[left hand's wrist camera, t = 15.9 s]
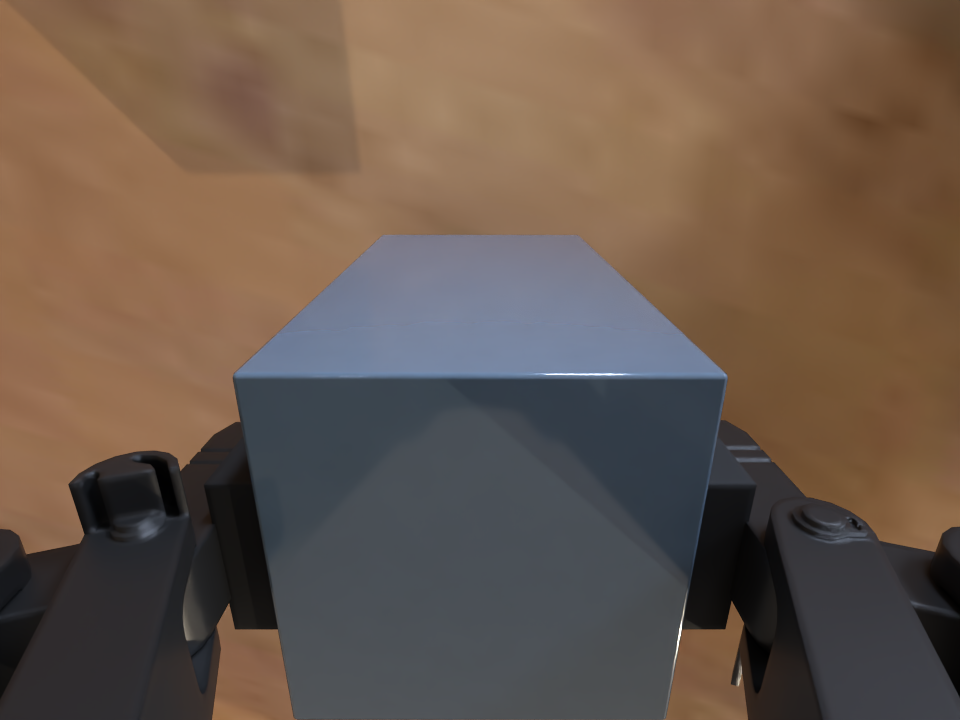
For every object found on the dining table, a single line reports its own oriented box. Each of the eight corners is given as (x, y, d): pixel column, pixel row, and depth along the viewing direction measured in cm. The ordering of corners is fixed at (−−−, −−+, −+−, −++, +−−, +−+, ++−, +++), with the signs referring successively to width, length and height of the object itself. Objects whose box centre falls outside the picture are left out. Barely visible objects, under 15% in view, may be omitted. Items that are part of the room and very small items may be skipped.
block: (393, 413, 20) (292, 721, 9) (381, 234, 17) (229, 373, 7) (567, 413, 20) (666, 722, 9) (579, 234, 17) (730, 374, 7)
